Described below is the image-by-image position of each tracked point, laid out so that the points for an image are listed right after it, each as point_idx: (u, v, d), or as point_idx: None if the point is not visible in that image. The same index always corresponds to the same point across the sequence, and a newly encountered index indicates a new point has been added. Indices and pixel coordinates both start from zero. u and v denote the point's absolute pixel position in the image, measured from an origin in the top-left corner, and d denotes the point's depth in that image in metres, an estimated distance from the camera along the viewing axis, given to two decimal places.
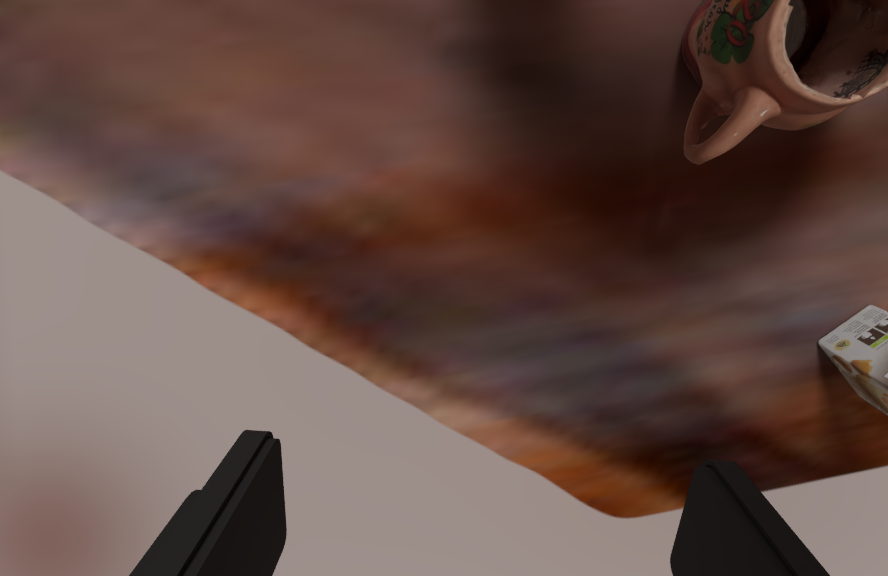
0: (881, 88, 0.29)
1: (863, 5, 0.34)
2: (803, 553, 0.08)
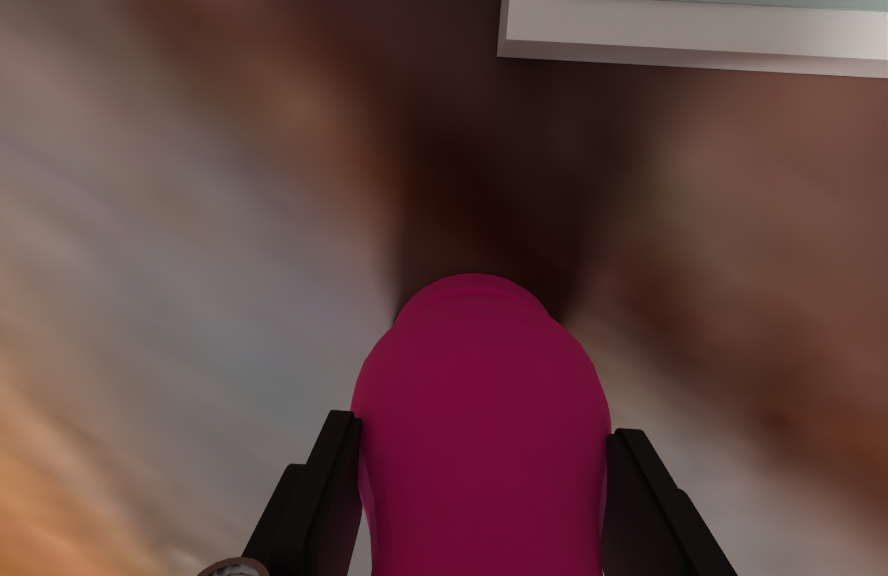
0: None
1: None
2: (680, 504, 0.09)
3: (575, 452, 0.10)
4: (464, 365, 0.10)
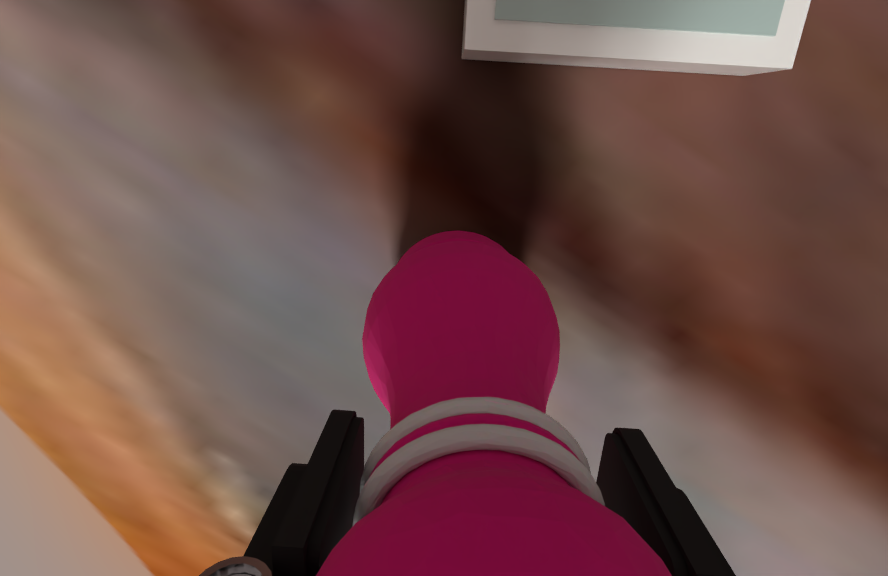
0: None
1: None
2: (677, 503, 0.09)
3: (528, 338, 0.14)
4: (451, 282, 0.14)
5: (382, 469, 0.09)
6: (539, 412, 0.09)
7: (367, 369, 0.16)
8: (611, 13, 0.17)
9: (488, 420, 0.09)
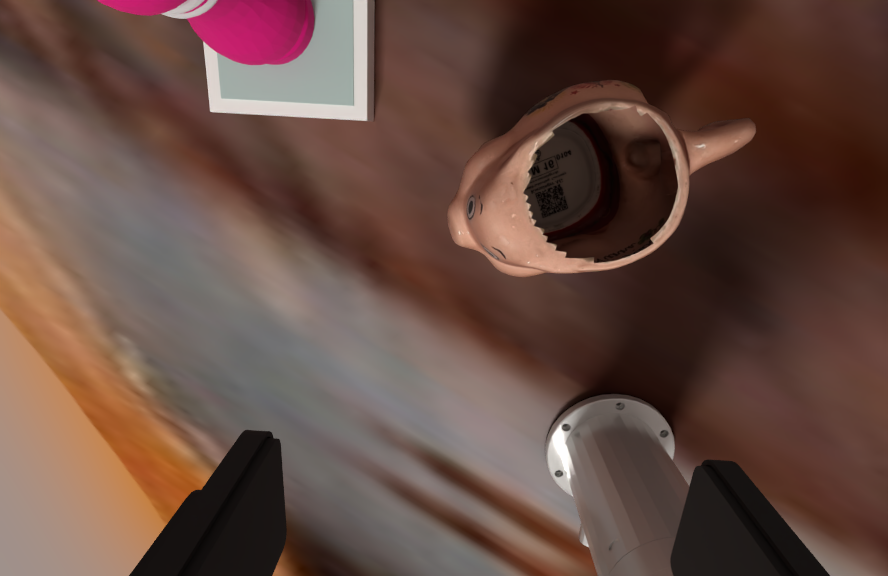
0: (614, 103, 0.25)
1: None
2: (803, 553, 0.08)
3: None
4: None
5: None
6: None
7: None
8: (275, 95, 0.36)
9: None
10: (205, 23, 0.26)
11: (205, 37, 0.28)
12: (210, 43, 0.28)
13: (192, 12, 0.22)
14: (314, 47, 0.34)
